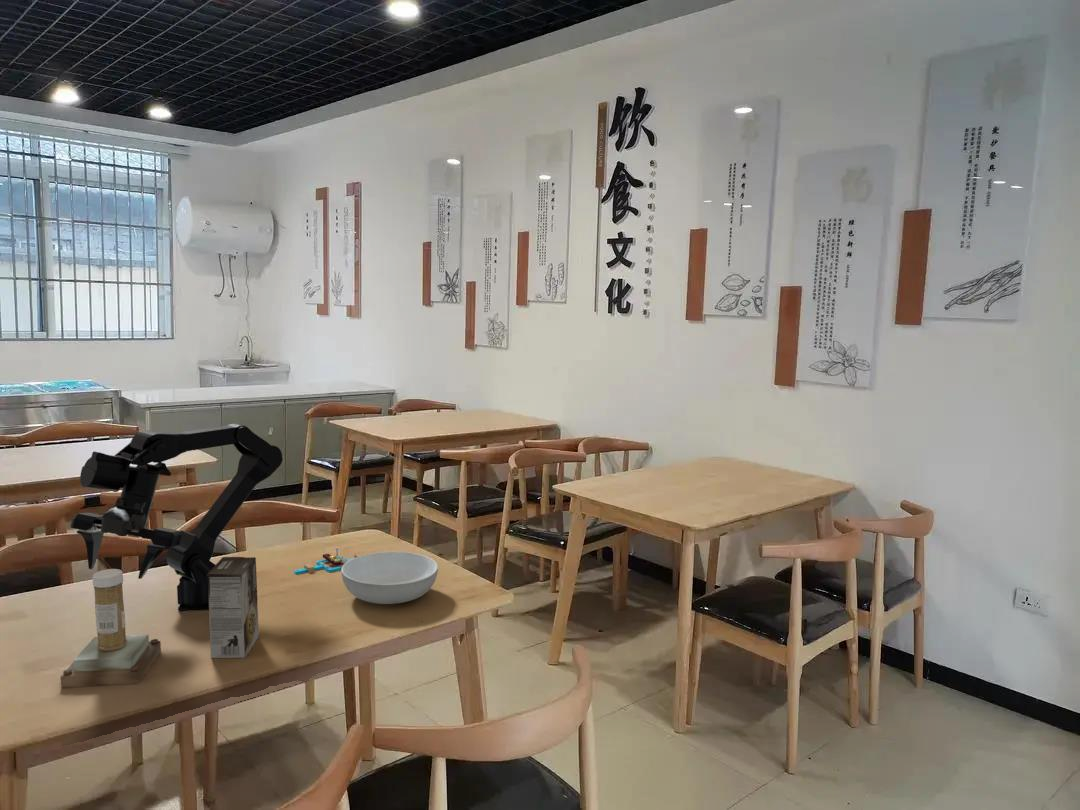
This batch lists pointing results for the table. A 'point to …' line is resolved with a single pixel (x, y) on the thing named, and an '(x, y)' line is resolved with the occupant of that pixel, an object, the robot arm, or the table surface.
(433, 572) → the serving bowl
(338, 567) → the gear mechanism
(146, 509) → the robot arm
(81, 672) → the brick tower base
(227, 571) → the coffee box
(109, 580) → the sprinkles bottle
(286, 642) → the table surface
